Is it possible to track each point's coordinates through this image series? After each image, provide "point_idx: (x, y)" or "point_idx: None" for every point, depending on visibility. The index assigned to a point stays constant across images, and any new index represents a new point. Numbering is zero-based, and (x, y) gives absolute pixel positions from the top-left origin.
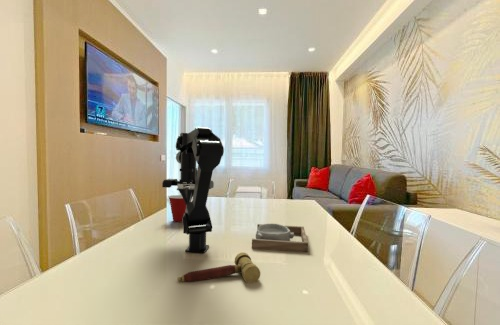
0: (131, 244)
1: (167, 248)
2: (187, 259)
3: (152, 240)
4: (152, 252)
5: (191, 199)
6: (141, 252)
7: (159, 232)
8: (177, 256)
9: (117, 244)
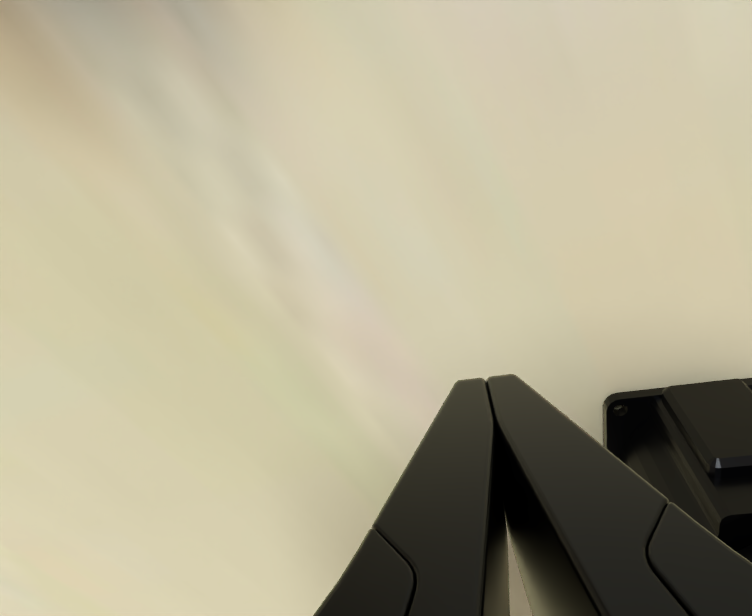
0: (109, 503)
1: None
2: None
3: (182, 389)
4: None
5: (622, 483)
6: (301, 587)
7: (38, 155)
8: None
9: (20, 528)
